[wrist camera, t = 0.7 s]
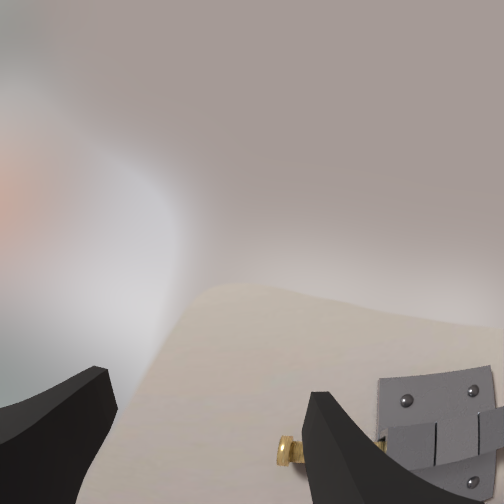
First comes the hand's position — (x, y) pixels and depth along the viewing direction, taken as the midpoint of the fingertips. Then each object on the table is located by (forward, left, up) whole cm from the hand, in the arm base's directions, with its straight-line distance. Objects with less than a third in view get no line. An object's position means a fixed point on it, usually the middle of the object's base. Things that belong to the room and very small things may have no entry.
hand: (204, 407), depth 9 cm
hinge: (0, -15, -16) cm, 22 cm away
